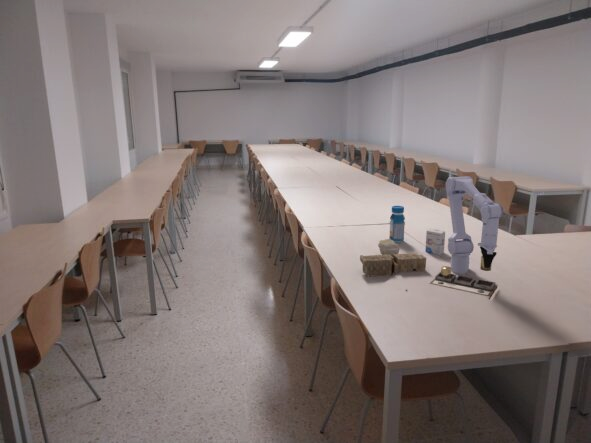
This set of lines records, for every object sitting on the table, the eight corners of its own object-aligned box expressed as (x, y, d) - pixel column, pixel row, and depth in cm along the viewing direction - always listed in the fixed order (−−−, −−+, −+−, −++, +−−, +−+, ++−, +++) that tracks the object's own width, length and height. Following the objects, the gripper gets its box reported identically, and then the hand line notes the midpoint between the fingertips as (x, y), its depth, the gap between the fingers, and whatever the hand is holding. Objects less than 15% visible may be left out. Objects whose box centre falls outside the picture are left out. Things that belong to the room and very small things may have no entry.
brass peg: (480, 267, 176) (480, 255, 175) (490, 267, 175) (491, 256, 173) (480, 270, 172) (481, 258, 171) (491, 271, 171) (492, 259, 170)
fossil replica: (403, 254, 222) (385, 252, 228) (403, 238, 221) (385, 237, 227) (394, 258, 212) (375, 256, 218) (393, 242, 211) (375, 241, 217)
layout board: (439, 275, 191) (440, 270, 190) (497, 287, 177) (497, 281, 177) (429, 286, 180) (429, 280, 179) (489, 299, 166) (490, 293, 166)
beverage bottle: (398, 243, 239) (399, 209, 234) (386, 240, 245) (387, 206, 240) (407, 240, 244) (408, 206, 239) (394, 237, 251) (396, 204, 246)
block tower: (418, 269, 202) (358, 270, 199) (420, 252, 200) (359, 253, 197) (425, 275, 195) (363, 277, 192) (426, 258, 193) (364, 259, 190)
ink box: (424, 251, 224) (425, 230, 222) (429, 249, 228) (430, 228, 225) (440, 255, 219) (441, 233, 216) (444, 252, 222) (445, 230, 219)
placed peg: (441, 276, 187) (442, 265, 186) (451, 277, 185) (452, 267, 184) (439, 279, 184) (440, 268, 182) (449, 281, 182) (449, 270, 180)
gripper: (477, 228, 178) (474, 259, 181) (480, 237, 164) (477, 270, 168) (496, 229, 175) (492, 260, 179) (500, 239, 162) (496, 272, 165)
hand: (486, 265), depth 173 cm, fingers closed on brass peg, 4 cm apart
